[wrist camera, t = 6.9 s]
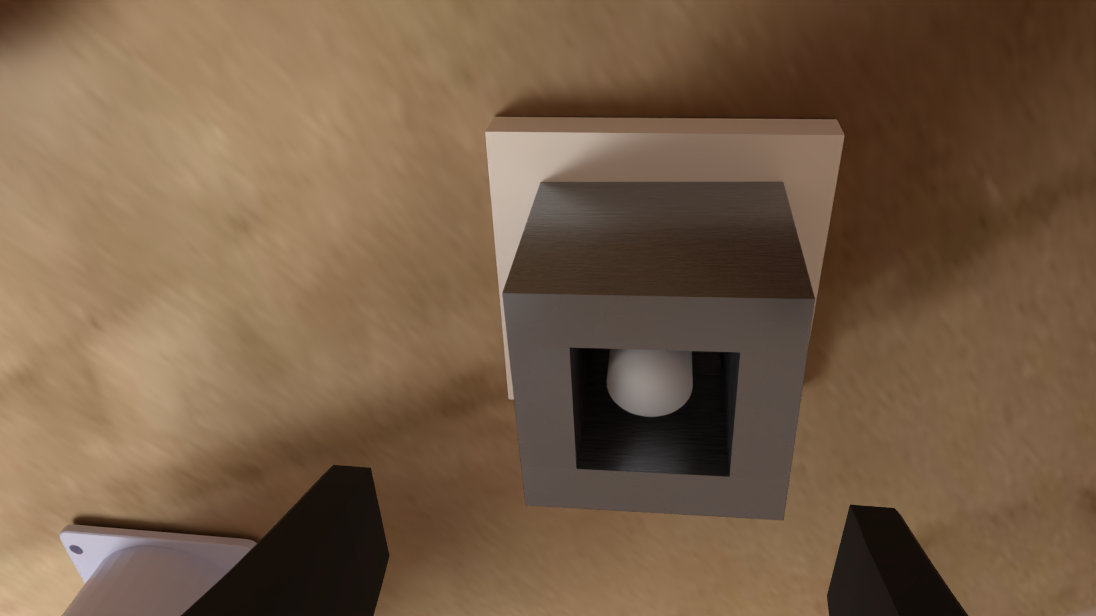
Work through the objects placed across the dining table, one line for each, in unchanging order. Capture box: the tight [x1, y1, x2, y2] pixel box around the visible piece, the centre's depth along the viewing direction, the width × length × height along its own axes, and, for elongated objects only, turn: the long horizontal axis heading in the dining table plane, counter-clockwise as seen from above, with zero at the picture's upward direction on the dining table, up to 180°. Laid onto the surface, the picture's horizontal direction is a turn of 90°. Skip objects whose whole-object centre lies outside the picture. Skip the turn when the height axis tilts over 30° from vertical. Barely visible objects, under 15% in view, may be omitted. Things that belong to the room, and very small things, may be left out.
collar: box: [502, 182, 815, 520], centre depth 18 cm, size 6×6×5 cm
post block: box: [485, 117, 845, 417], centre depth 19 cm, size 8×8×5 cm
